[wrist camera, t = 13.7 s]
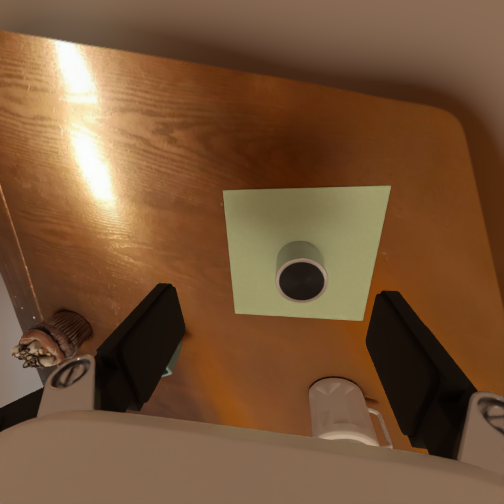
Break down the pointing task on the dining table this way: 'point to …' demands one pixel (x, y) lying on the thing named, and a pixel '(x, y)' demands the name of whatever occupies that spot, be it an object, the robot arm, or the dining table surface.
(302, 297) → the steel pot
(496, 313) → the dining table surface
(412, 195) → the dining table surface
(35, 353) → the cupcake
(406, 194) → the dining table surface
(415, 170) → the dining table surface
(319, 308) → the trivet mat
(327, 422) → the mug
